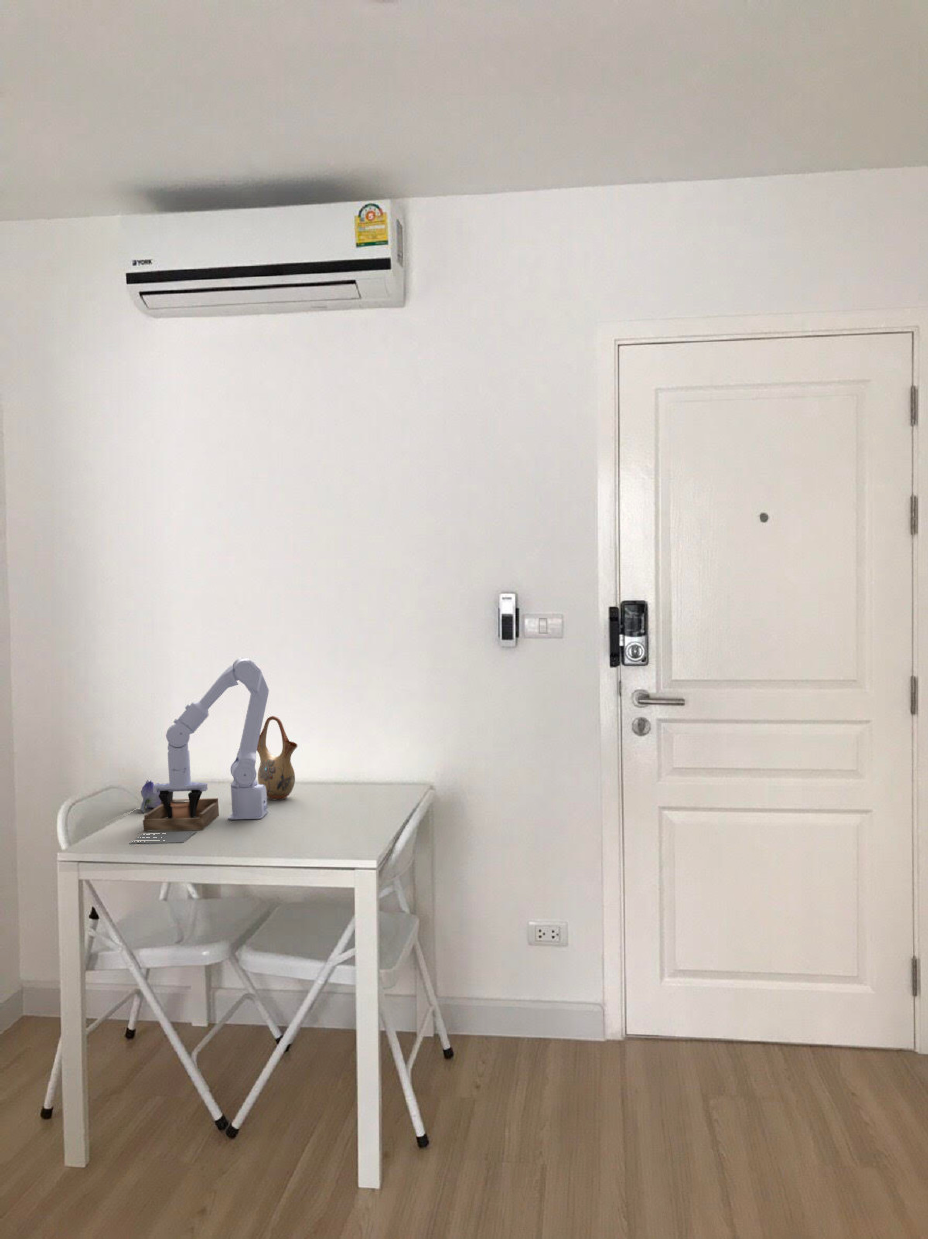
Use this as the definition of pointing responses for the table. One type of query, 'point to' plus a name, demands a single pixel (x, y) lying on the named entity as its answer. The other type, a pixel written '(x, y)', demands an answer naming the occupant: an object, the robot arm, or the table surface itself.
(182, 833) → the slate mat
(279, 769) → the ceramic vessel
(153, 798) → the flower
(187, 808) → the terracotta pot
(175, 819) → the frame
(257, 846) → the table surface
